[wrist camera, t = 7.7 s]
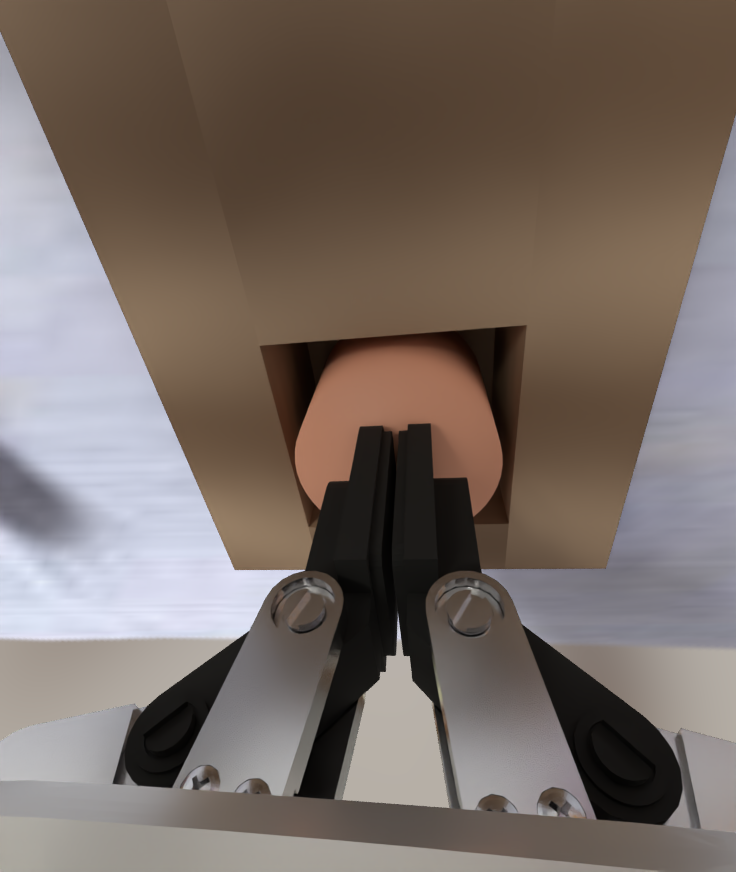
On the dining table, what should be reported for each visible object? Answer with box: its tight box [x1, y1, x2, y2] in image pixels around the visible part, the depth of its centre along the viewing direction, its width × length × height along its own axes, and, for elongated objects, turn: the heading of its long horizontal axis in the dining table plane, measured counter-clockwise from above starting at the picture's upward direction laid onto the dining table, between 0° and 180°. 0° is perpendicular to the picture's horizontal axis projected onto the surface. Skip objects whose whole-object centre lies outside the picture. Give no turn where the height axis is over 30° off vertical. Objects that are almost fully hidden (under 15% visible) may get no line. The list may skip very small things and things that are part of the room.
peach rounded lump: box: [295, 331, 503, 517], centre depth 12 cm, size 5×5×4 cm
